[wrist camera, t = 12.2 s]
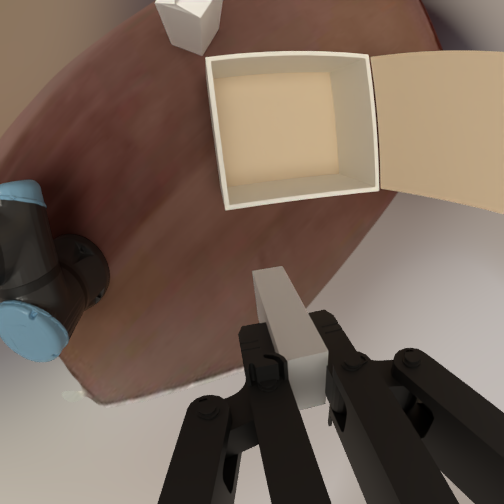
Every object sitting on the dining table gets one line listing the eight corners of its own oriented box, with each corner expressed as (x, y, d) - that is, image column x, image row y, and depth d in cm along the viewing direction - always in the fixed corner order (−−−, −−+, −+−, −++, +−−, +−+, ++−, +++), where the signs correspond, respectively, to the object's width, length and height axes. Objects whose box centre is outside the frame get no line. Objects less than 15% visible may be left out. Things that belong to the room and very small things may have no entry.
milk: (218, 29, 42) (229, -31, 21) (202, 57, 43) (201, 8, 23) (187, 17, 40) (179, -47, 20) (170, 44, 42) (149, -8, 21)
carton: (220, 190, 52) (225, 210, 40) (205, 77, 45) (205, 57, 32) (340, 176, 54) (379, 190, 41) (331, 69, 47) (368, 54, 34)
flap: (518, 218, 25) (519, 217, 25) (514, 53, 18) (515, 54, 18) (380, 188, 41) (382, 187, 41) (370, 56, 34) (372, 57, 34)
